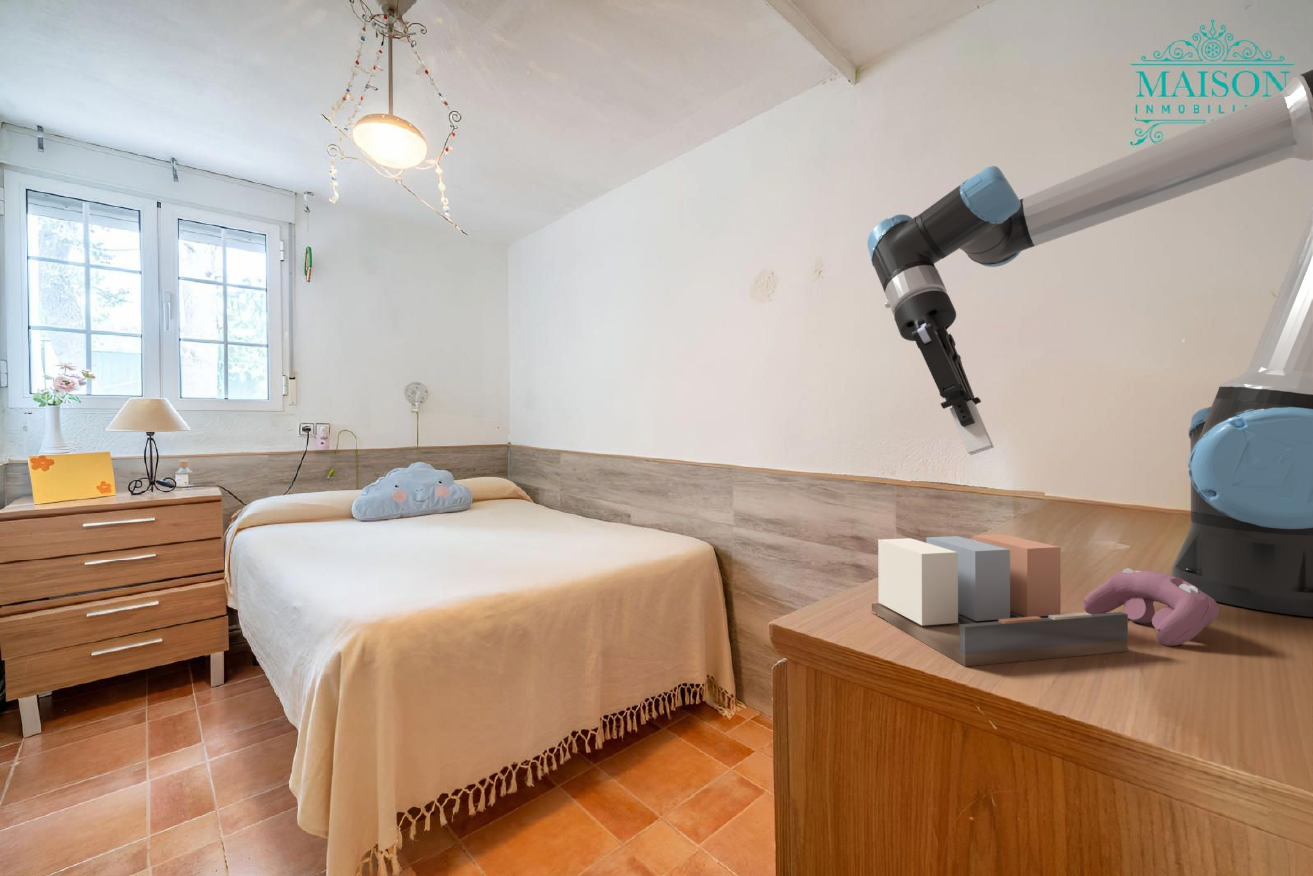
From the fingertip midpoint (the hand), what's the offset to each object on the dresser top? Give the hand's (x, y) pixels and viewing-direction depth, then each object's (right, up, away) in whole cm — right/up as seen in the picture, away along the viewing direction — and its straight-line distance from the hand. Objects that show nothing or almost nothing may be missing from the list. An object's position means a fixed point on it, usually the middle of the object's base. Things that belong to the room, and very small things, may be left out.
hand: (980, 449), depth 64 cm
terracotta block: (-2, -17, -9) cm, 19 cm away
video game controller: (+9, -18, -12) cm, 24 cm away
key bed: (-8, -18, -12) cm, 23 cm away
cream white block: (-14, -17, -11) cm, 25 cm away
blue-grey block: (-8, -17, -10) cm, 21 cm away
